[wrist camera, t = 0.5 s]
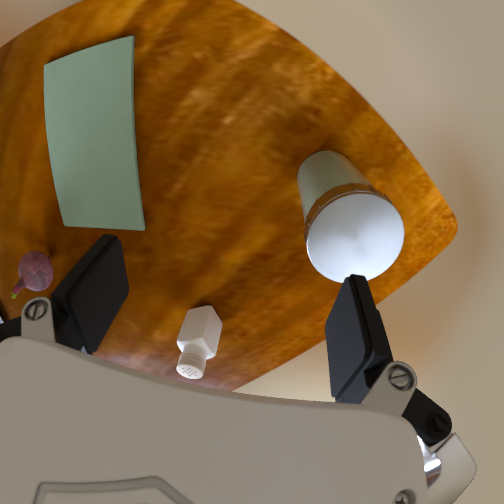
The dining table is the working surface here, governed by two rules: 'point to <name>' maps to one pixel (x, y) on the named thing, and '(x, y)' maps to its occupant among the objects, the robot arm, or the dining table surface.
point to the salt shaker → (198, 340)
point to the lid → (353, 232)
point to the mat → (94, 136)
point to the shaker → (325, 176)
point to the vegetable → (34, 272)
